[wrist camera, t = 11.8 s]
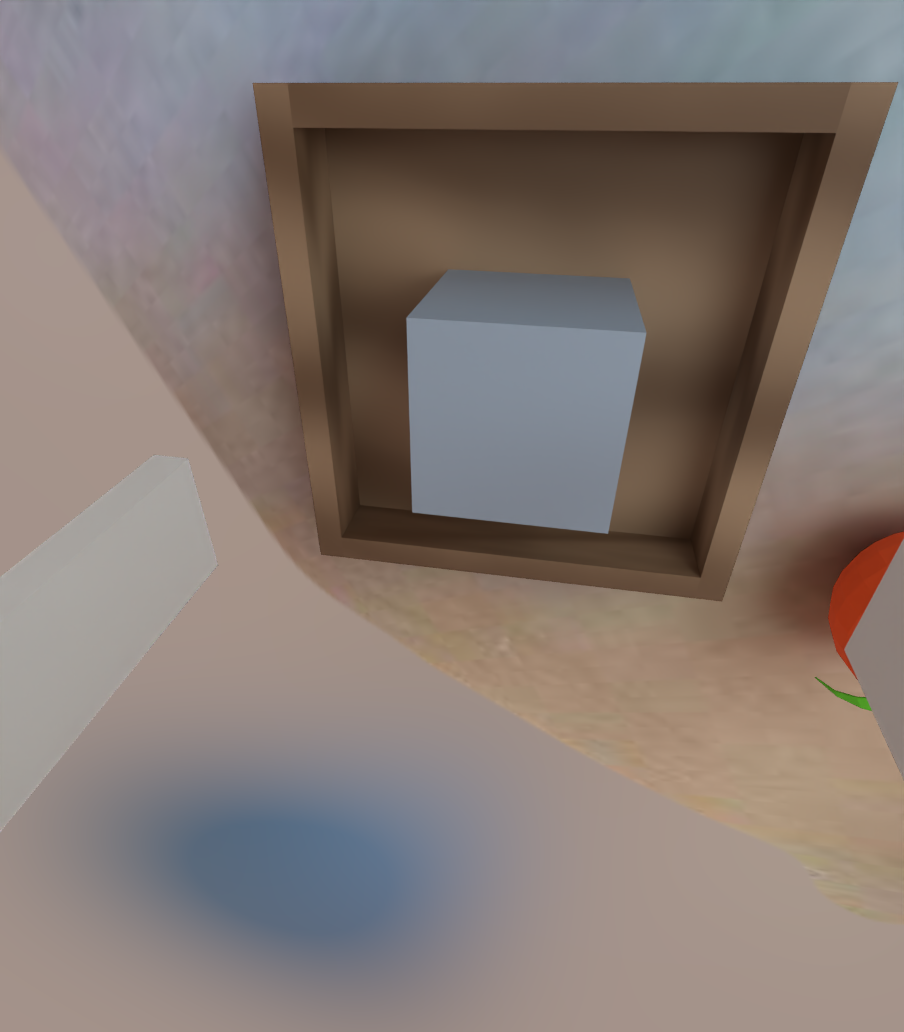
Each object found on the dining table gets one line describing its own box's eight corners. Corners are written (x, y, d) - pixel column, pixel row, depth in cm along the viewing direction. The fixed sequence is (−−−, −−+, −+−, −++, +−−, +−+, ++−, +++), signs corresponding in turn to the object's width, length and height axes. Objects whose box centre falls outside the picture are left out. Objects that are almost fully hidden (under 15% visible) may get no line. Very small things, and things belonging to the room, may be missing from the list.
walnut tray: (299, 87, 19) (252, 83, 16) (846, 87, 17) (898, 82, 14) (346, 511, 28) (320, 554, 25) (706, 549, 26) (722, 601, 23)
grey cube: (448, 269, 20) (406, 317, 15) (629, 278, 20) (646, 332, 15) (447, 430, 24) (412, 512, 19) (602, 444, 23) (607, 533, 18)
